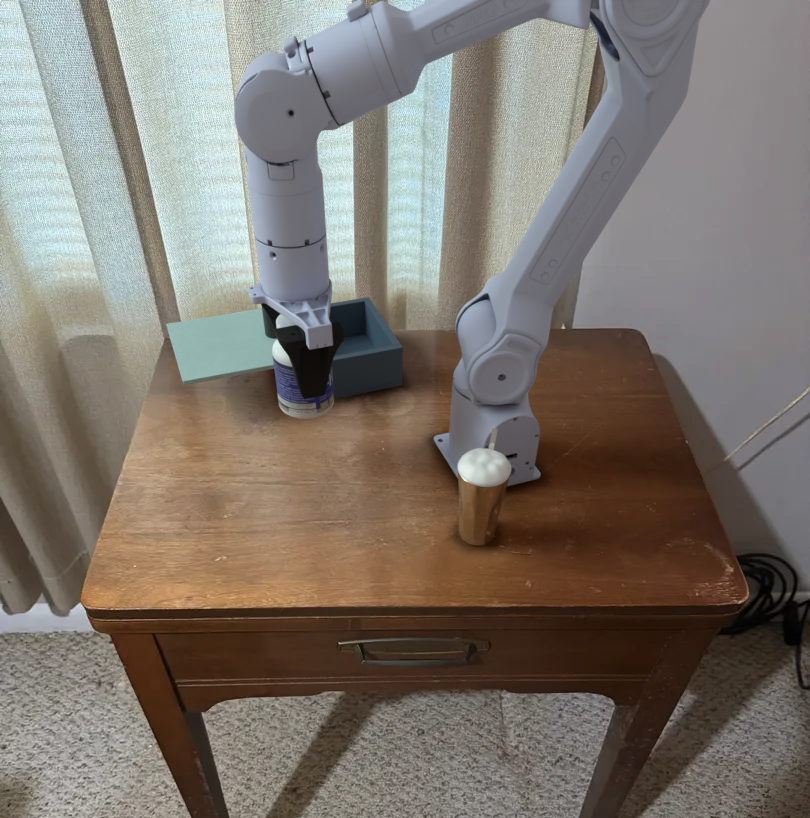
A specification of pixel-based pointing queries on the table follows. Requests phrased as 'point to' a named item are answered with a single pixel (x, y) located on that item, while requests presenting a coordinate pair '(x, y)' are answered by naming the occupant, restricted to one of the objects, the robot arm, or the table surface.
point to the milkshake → (481, 492)
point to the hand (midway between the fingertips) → (304, 377)
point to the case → (364, 350)
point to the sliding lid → (223, 345)
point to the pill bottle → (288, 387)
